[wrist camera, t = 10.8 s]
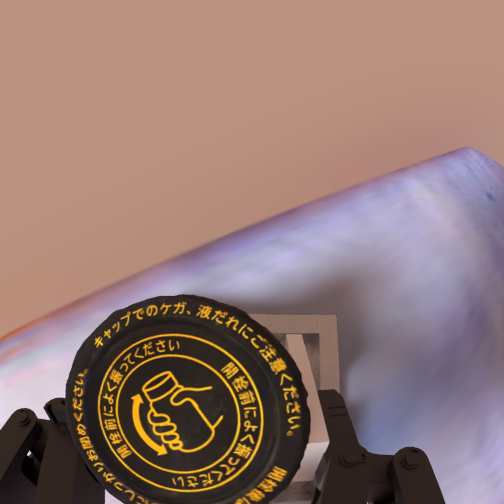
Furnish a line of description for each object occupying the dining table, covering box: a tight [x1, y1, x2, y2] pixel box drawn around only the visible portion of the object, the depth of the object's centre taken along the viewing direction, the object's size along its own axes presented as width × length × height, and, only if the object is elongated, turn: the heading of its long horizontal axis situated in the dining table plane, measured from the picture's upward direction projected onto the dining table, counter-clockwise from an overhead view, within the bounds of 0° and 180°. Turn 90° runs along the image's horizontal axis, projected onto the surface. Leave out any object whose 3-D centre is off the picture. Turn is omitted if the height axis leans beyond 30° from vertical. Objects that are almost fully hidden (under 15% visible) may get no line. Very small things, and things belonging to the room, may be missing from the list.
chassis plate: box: [248, 314, 340, 504], centre depth 15 cm, size 15×14×4 cm
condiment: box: [65, 294, 311, 504], centre depth 9 cm, size 7×8×12 cm
